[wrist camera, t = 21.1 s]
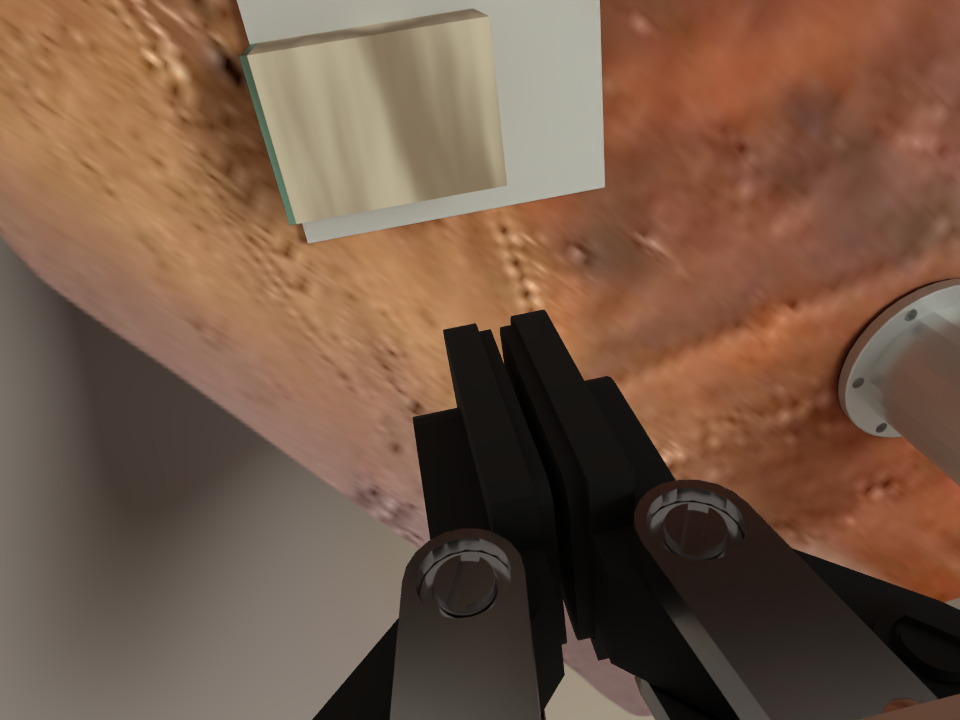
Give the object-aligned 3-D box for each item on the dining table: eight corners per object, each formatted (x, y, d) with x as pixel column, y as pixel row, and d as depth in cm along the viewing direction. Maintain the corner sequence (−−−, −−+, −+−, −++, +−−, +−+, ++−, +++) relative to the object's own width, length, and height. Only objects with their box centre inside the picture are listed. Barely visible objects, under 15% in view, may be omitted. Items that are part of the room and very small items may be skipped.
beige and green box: (489, 16, 27) (239, 56, 26) (507, 185, 30) (289, 225, 30) (473, 8, 30) (251, 44, 29) (490, 161, 34) (295, 197, 33)
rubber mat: (593, -79, 29) (597, -79, 29) (601, 183, 36) (604, 187, 36) (232, -22, 28) (230, -21, 28) (308, 239, 35) (308, 243, 34)
